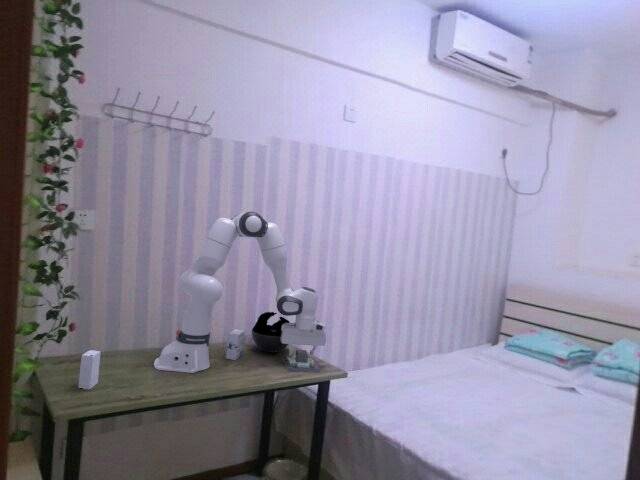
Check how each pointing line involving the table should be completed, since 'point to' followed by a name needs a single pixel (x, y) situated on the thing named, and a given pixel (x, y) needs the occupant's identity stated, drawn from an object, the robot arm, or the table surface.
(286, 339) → the robot arm
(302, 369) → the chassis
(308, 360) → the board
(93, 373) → the skincare box
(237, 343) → the ink box
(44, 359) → the table surface
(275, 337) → the coal bowl
